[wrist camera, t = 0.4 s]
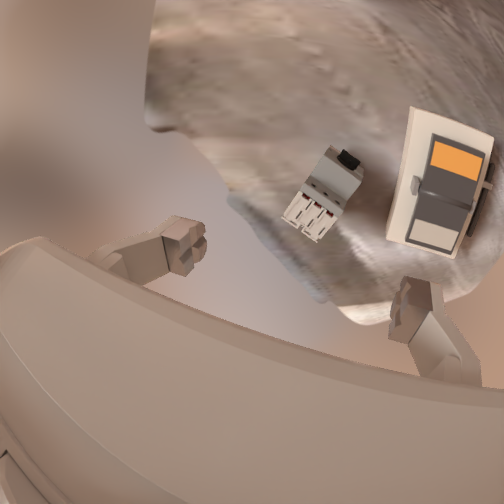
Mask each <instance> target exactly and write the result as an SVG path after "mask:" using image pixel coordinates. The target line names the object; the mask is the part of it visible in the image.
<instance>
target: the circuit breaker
mask: <svg viewBox="0 0 504 504" xmlns="http://www.w3.org/2000/svg"><path fill="white" fill-rule="evenodd" d="M359 164H360V161H359V160H358V159H356V158H354V157H353V156H351V155H350V154H349V153H348V152H347V151H345V150H344V149H343V150H342V152H340V151H338V150H337V149H335V148H334V147H333V146H331V145H330V147H329V148H328V150H327V151H326V152H325V154H324V155H323V157H322V158H321V160H320V161H319V163H318V164H317V166H316V167H315V169H314V170H313V172H312V173H311V174H310V176H309V177H308V179H307V180H306V182H305V183H304V184H303V186H302V187H301V189H300V190H299V192H298V193H297V195H296V196H295V198H294V199H293V201H292V202H291V204H290V205H289V207H288V208H287V209H286V211H285V212H284V214H283V215H285V216H284V217H283V216H282V217H281V218H282V219H284V220H285V221H287V222H288V223H289V224H291V225H292V226H294V227H295V228H298V227H299V226H302V227H303V229H302V231H301V232H302V233H304V234H305V235H307V236H308V237H309V238H311V239H312V240H314V241H315V242H316V243H317V242H318V241H317V239H319V238H320V239H321V238H322V236H323V235H324V234H325V233H326V232H327V231H328V229H329V228H330V227H331V226H332V225H333V223H334V222H335V221H336V220H337V219H338V217H339V216H340V215H341V214H342V213H343V211H344V209H345V205H346V202H347V200H348V199H349V198H350V197H351V195H352V194H353V193H354V192H355V190H356V189H357V188H358V186H359V185H360V184H361V183H362V178H363V177H364V175H363V171H364V169H363V168H362V167H360V166H359ZM291 221H294V222H295V223H296V224H294V223H293V222H291ZM306 231H308V232H309V233H310V234H308V233H307V232H306Z"/></svg>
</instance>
